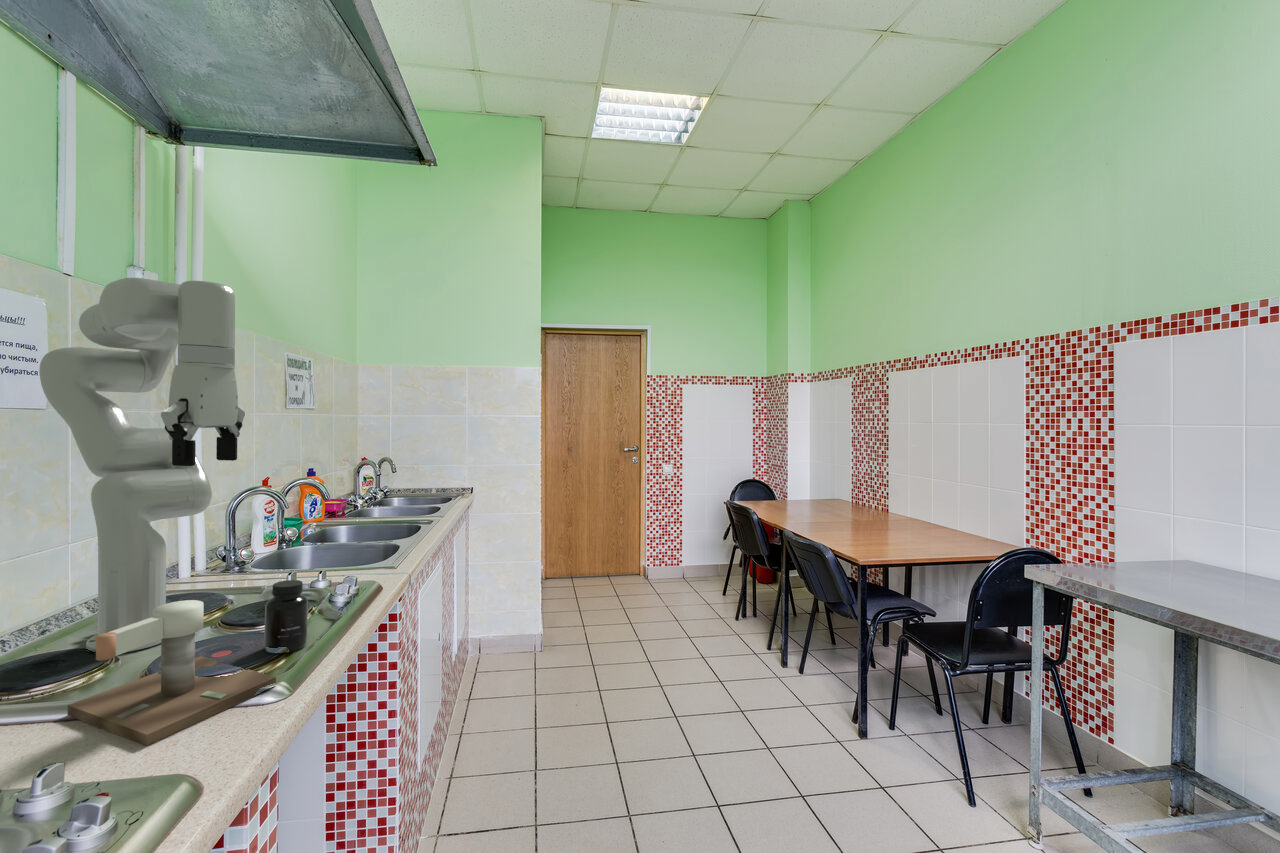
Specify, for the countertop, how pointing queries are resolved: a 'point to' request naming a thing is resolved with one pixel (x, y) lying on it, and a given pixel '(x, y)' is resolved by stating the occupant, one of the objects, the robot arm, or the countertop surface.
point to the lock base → (168, 696)
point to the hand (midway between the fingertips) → (206, 462)
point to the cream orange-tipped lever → (152, 628)
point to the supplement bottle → (286, 616)
